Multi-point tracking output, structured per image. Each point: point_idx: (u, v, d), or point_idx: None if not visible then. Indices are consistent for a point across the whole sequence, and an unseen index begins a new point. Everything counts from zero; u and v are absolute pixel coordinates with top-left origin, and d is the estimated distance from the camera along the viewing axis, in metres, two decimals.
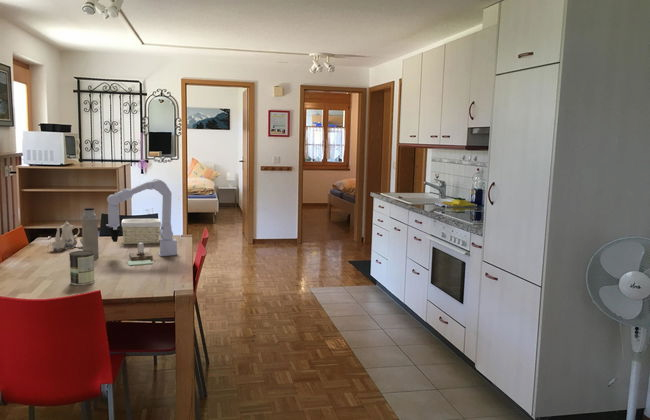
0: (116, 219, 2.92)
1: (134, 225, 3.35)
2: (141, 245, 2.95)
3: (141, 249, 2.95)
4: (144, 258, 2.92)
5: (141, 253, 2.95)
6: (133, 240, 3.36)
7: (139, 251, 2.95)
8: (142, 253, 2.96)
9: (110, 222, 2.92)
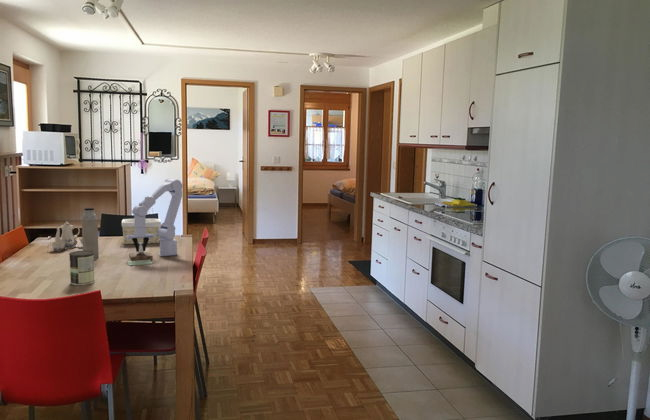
0: (135, 230, 2.93)
1: (134, 225, 3.35)
2: (141, 245, 2.95)
3: (141, 249, 2.95)
4: (144, 258, 2.92)
5: (141, 253, 2.95)
6: None
7: (139, 251, 2.95)
8: (142, 253, 2.96)
9: None
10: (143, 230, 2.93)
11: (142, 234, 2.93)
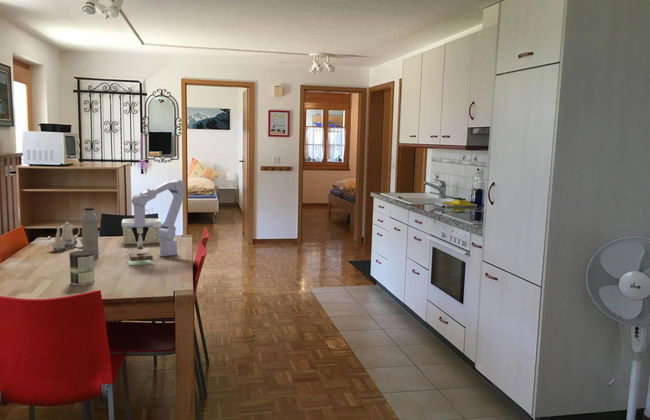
0: (135, 219, 2.90)
1: None
2: (140, 235, 2.93)
3: (140, 239, 2.93)
4: (144, 258, 2.92)
5: (140, 243, 2.93)
6: (133, 240, 3.37)
7: (138, 241, 2.93)
8: (141, 243, 2.93)
9: None
10: (142, 220, 2.91)
11: (141, 224, 2.91)
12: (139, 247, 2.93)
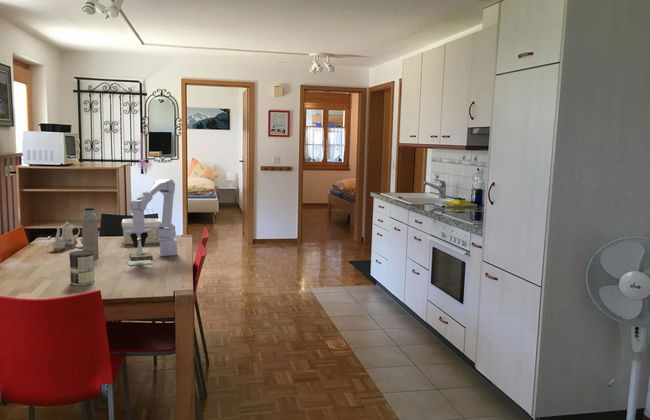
0: (134, 225, 2.81)
1: None
2: (140, 241, 2.84)
3: (140, 245, 2.84)
4: (144, 258, 2.92)
5: (140, 249, 2.85)
6: None
7: (138, 247, 2.84)
8: (141, 249, 2.85)
9: None
10: (143, 225, 2.83)
11: (142, 229, 2.83)
12: (138, 253, 2.85)
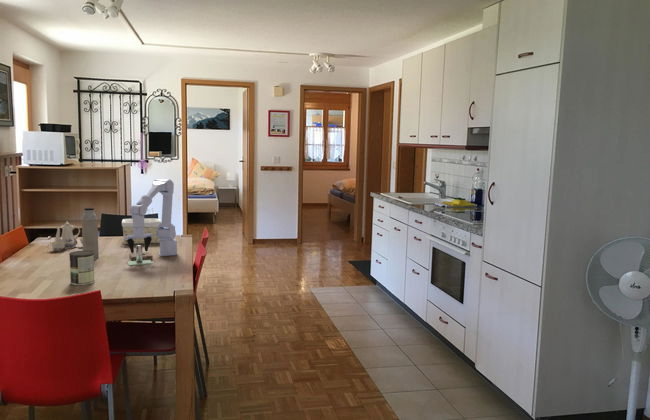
0: (134, 230, 2.82)
1: None
2: (140, 247, 2.85)
3: (140, 252, 2.85)
4: (144, 258, 2.92)
5: (140, 256, 2.85)
6: (133, 240, 3.37)
7: (138, 254, 2.85)
8: (141, 256, 2.86)
9: None
10: (143, 230, 2.83)
11: (142, 234, 2.83)
12: (139, 260, 2.85)
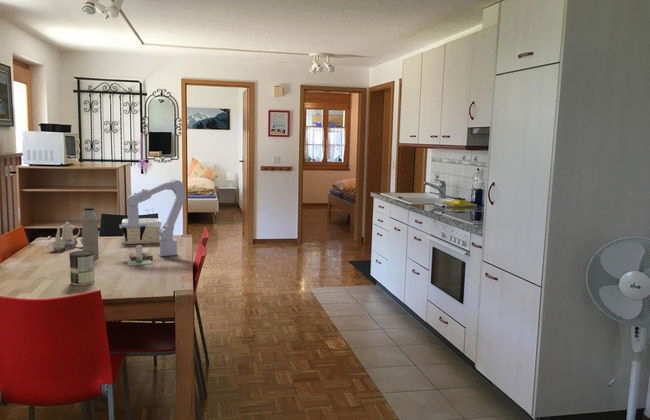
0: (128, 219, 2.96)
1: None
2: (140, 247, 2.85)
3: (140, 252, 2.85)
4: (144, 258, 2.92)
5: (140, 256, 2.85)
6: (134, 240, 3.37)
7: (138, 254, 2.85)
8: (141, 256, 2.86)
9: None
10: (136, 219, 2.97)
11: (135, 223, 2.97)
12: (139, 260, 2.85)
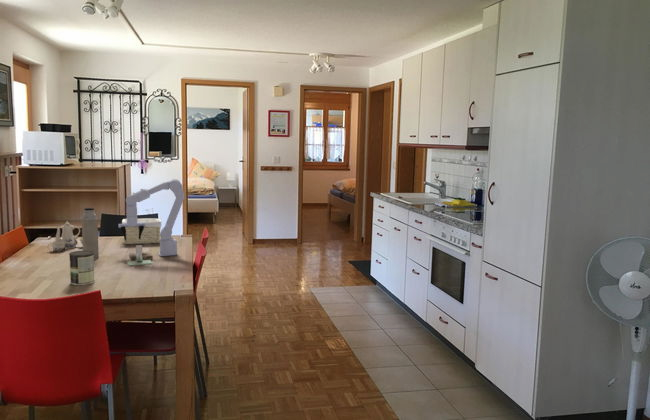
0: (127, 218, 3.00)
1: None
2: (140, 247, 2.85)
3: (140, 252, 2.85)
4: (144, 258, 2.92)
5: (140, 256, 2.85)
6: (134, 240, 3.37)
7: (138, 254, 2.85)
8: (141, 256, 2.86)
9: None
10: (135, 219, 3.01)
11: (134, 223, 3.00)
12: (139, 260, 2.85)
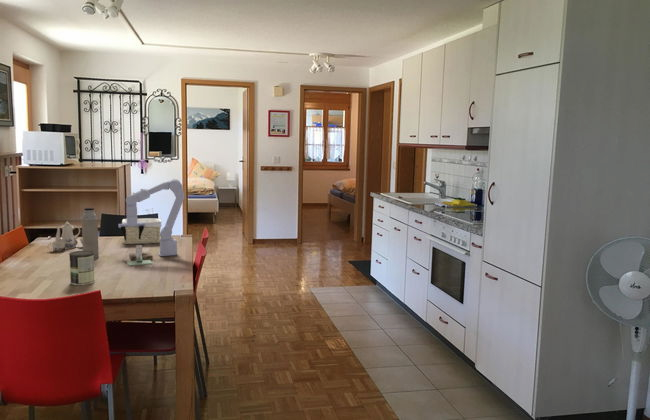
0: (127, 218, 3.00)
1: None
2: (140, 247, 2.85)
3: (140, 252, 2.85)
4: (144, 258, 2.92)
5: (140, 256, 2.85)
6: (134, 240, 3.37)
7: (138, 254, 2.85)
8: (141, 256, 2.86)
9: None
10: (135, 219, 3.01)
11: (134, 223, 3.00)
12: (139, 260, 2.85)
